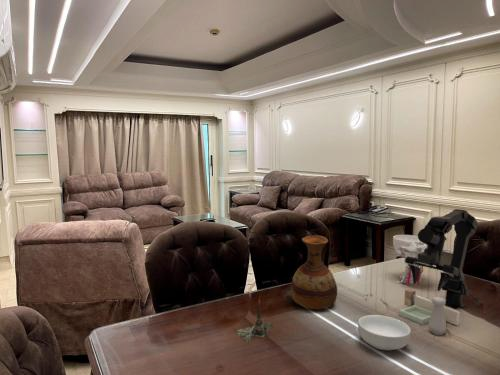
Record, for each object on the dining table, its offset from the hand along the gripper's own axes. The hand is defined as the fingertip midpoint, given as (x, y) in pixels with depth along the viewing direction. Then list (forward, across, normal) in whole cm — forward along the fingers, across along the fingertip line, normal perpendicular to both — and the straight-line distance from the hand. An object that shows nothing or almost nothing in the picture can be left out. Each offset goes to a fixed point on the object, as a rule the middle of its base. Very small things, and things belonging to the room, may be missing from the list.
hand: (426, 287), depth 143 cm
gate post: (+9, -12, +15) cm, 21 cm away
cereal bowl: (+23, 0, -23) cm, 33 cm away
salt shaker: (+15, +8, -1) cm, 17 cm away
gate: (+9, 0, +12) cm, 16 cm away
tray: (+12, -3, +6) cm, 14 cm away
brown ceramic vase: (+20, -38, -16) cm, 46 cm away
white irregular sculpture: (-1, -25, +42) cm, 49 cm away
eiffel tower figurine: (+33, -32, -50) cm, 68 cm away
